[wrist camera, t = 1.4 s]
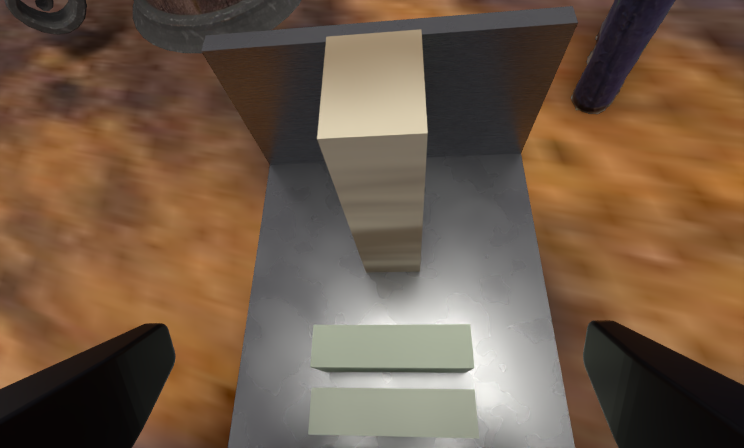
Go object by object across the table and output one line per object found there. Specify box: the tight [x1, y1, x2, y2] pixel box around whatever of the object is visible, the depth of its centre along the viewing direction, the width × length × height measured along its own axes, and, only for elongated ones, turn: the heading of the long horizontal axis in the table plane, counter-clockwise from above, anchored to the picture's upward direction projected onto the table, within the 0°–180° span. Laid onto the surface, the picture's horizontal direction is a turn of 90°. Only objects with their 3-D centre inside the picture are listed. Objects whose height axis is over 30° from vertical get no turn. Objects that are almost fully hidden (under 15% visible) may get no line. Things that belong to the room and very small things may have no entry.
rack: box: [201, 6, 578, 448], centre depth 16 cm, size 22×16×10 cm
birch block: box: [317, 29, 428, 272], centre depth 16 cm, size 4×3×12 cm
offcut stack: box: [308, 324, 479, 438], centre depth 17 cm, size 7×7×3 cm
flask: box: [571, 0, 675, 114], centre depth 22 cm, size 9×3×11 cm, turn 151°
